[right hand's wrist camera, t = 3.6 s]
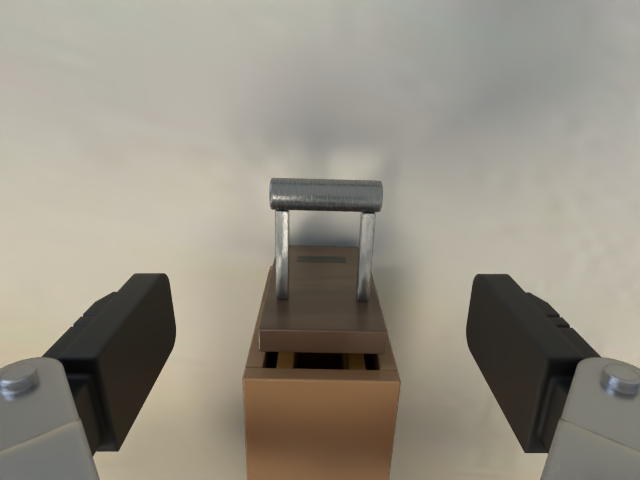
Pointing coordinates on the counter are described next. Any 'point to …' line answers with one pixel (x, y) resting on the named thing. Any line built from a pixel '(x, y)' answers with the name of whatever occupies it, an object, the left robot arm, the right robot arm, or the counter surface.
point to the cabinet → (319, 417)
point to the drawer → (323, 282)
